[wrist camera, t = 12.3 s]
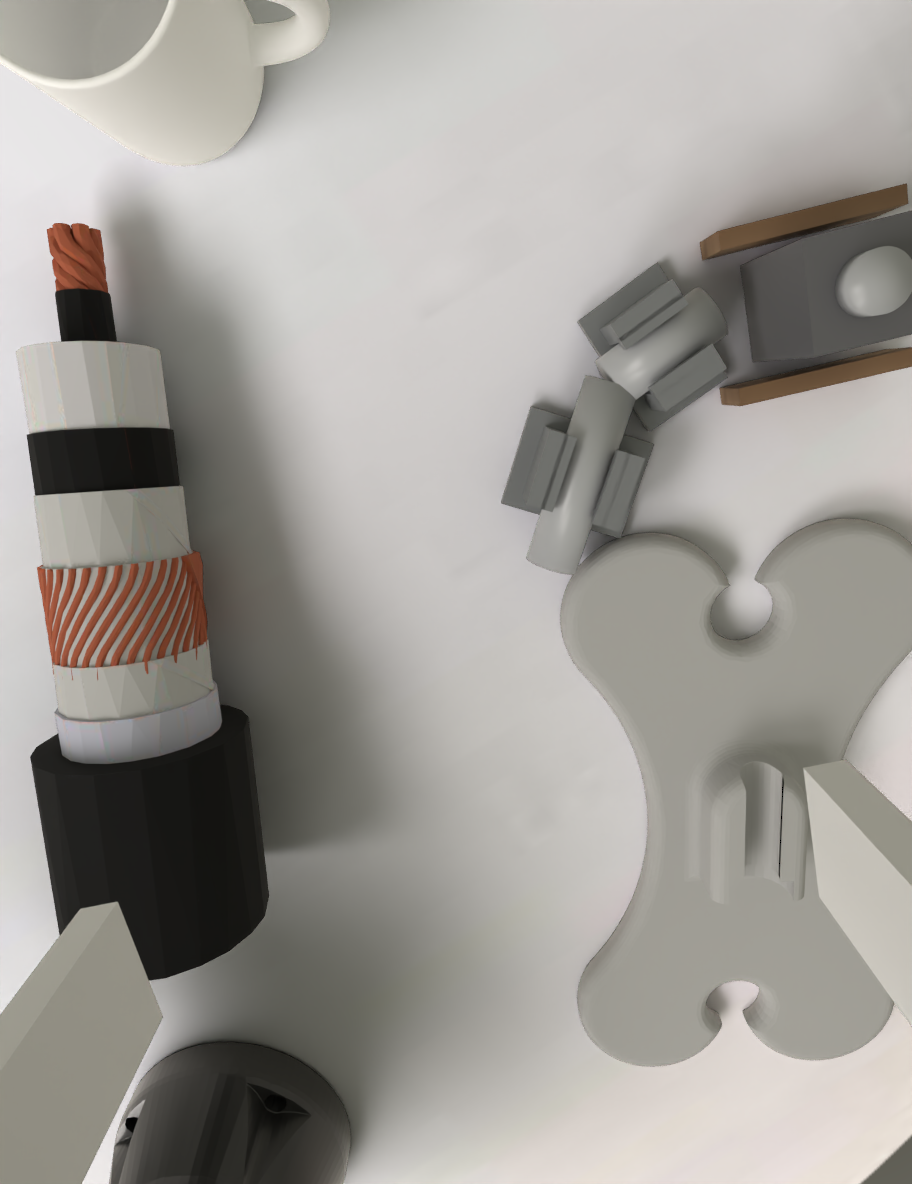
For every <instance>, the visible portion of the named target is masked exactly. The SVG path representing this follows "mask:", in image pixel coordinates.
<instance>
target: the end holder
mask: <svg viewBox="0 0 912 1184" xmlns="http://www.w3.org/2000/svg"><path fill="white" fill-rule="evenodd" d="M906 204H908V195H907V184H903V185H899V186H895V187H891V188H887V189H883V190H879V191H875V192H871V193H867V194H863V195H859V196H855V197H851V198H847V199H843V200H839V201H835V202H831V203H827V204H823V205H819V206H815V207H812V208H808V209H804V210H800V211H796V212H792V213H788V214H784V215H780V216H776V217H772V218H768V219H764V220H760V221H756V222H752V223H748V224H744V225H740V226H736V227H732V228H728V229H724V230H720V231H718V232H716V233H714V234H713V235H711V236H710V237H708V238H706V239H705V240H703V241H702V242H700V247H701V255H702V260H706V259H710V258H714V257H718V256H722V255H726V254H730V253H734V252H738V251H742V250H746V249H750V248H754V247H758V246H762V245H767V244H771V243H775V242H779V241H783V240H787V239H791V238H795V237H799V236H803V235H807V234H811V233H815V232H819V231H823V230H827V229H831V228H835V227H839V226H843V225H847V224H851V223H855V222H859V221H863V220H867V219H871V218H875V217H877V216H880V215H882V214H884V213H887V212H889V211H892V210H894V209H896V208H899V207H901V206H904V205H906ZM908 367H912V347H909V348H897V349H885V350H881V351H876V352H872V353H868V354H863V355H859V356H855V357H851V358H846V359H842V360H838V361H834V362H829V363H825V364H821V365H817V366H812V367H808V368H804V369H799V370H795V371H791V372H787V373H782V374H778V375H774V376H770V377H765V378H761V379H757V380H752V381H748V382H744V383H740V384H735V385H731V386H727V387H723V388H720V395H721V402H722V404H723V405H734V406H743V405H748V404H752V403H756V402H761V401H765V400H769V399H774V398H778V397H782V396H787V395H791V394H795V393H800V392H804V391H808V390H813V389H817V388H821V387H826V386H830V385H834V384H838V383H843V382H847V381H851V380H856V379H860V378H864V377H869V376H873V375H877V374H882V373H886V372H890V371H895V370H899V369H903V368H908Z"/></svg>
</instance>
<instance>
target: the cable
mask: <svg viewBox="0 0 912 1184" xmlns="http://www.w3.org/2000/svg"><path fill="white" fill-rule="evenodd" d="M71 228H72V229H71ZM47 234H48V241H49V248H50V253H51V255H52V256H53V257H54V259H53V260H52V264H53V270H54V275H55V277H56V281H55V283H56V293H55V297H56V304H57V312H58V320H59V327H60V335H61V342H49V343H41V344H34V345H29V346H25V347H21V348H20V349H19V350H17V351H16V355H17V361H18V367H19V373H20V379H21V386H22V392H23V398H24V404H25V410H26V416H27V422H28V428H29V434H28V435H27V440H28V447H29V454H30V461H31V468H32V475H33V482H34V489H35V496H34V503H35V511H36V518H37V525H38V532H39V540H40V547H41V554H42V561H43V565H41V566H40V567H37V570H38V577H39V584H40V589H41V593H42V599H43V607H44V612H45V620H46V626H47V632H48V639H49V645H50V652H51V656H52V666H53V674H54V678H55V686H56V694H57V701H58V708H57V710H56V712H55V718H56V724H57V729H58V734H57V735H55V736H53V737H52V738H50V739H49V740H47V741H45V742H44V743H42V744H41V745H39V746H38V747H36V749H35V750H34V752H33V753H32V755H31V757H30V758H31V764H32V770H33V776H34V782H35V788H36V794H37V800H38V806H39V812H40V818H41V825H42V831H43V837H44V843H45V849H46V855H47V861H48V867H49V873H50V879H51V885H52V891H53V897H54V903H55V910H56V916H57V922H58V928H59V934H60V935H61V934H62V932H63V931H64V930H65V928H66V927H67V926H68V924H69V923H70V922H71V920H72V919H73V918H74V916H75V915H76V914H77V912H78V911H79V910H80V909H82V908H87V907H92V906H97V905H102V904H107V903H113V902H118V904H119V906H120V909H121V911H122V914H123V916H124V919H125V921H126V924H127V926H128V929H129V932H130V934H131V937H132V939H133V942H134V944H135V947H136V949H137V952H138V955H139V957H140V960H141V962H142V965H143V967H144V970H145V972H146V975H147V978H148V980H156V979H163V978H167V977H170V976H173V975H176V974H179V973H182V972H184V971H187V970H190V969H193V968H196V967H199V966H201V965H203V964H205V963H207V962H209V961H211V960H213V959H215V958H217V957H219V956H221V955H223V954H224V953H226V952H228V951H230V950H231V949H232V948H233V947H235V946H236V945H237V944H238V943H240V942H241V941H242V940H243V939H245V938H246V937H247V936H248V935H249V934H251V933H252V932H253V930H254V929H255V928H256V927H257V925H258V924H259V923H260V921H261V920H262V919H263V918H264V916H265V912H266V907H267V902H268V898H269V891H268V882H267V874H266V865H265V857H264V848H263V840H262V831H261V822H260V814H259V805H258V797H257V788H256V780H255V771H254V762H253V754H252V745H251V737H250V728H249V720H248V716H247V715H246V714H245V713H244V712H243V711H242V710H239V709H236V708H233V707H231V706H228V705H220V702H219V695H218V688H217V683H216V682H214V681H213V680H212V670H211V660H210V650H209V640H208V638H207V614H206V609H205V605H204V601H203V564H202V560H201V556H200V553H199V552H196V551H191V548H190V542H189V533H188V524H187V515H186V507H185V498H184V489H183V486H180V485H179V476H178V467H177V458H176V449H175V440H174V432H173V430H172V429H170V425H169V417H168V409H167V401H166V393H165V385H164V377H163V369H162V361H161V353H160V351H159V350H158V349H155V348H152V347H149V346H146V345H139V344H132V343H124V342H117V339H116V332H115V325H114V318H113V311H112V304H111V297H110V294H109V293H108V286H107V282H106V280H105V279H106V268H105V264H104V252H103V246H102V239H101V232H100V230H97V229H93V228H90V229H89V226H87V225H85V224H80V223H77V224H72V225H71V227H70V226H69V225H68V224H63V223H55V224H53V228H50V229H47Z"/></svg>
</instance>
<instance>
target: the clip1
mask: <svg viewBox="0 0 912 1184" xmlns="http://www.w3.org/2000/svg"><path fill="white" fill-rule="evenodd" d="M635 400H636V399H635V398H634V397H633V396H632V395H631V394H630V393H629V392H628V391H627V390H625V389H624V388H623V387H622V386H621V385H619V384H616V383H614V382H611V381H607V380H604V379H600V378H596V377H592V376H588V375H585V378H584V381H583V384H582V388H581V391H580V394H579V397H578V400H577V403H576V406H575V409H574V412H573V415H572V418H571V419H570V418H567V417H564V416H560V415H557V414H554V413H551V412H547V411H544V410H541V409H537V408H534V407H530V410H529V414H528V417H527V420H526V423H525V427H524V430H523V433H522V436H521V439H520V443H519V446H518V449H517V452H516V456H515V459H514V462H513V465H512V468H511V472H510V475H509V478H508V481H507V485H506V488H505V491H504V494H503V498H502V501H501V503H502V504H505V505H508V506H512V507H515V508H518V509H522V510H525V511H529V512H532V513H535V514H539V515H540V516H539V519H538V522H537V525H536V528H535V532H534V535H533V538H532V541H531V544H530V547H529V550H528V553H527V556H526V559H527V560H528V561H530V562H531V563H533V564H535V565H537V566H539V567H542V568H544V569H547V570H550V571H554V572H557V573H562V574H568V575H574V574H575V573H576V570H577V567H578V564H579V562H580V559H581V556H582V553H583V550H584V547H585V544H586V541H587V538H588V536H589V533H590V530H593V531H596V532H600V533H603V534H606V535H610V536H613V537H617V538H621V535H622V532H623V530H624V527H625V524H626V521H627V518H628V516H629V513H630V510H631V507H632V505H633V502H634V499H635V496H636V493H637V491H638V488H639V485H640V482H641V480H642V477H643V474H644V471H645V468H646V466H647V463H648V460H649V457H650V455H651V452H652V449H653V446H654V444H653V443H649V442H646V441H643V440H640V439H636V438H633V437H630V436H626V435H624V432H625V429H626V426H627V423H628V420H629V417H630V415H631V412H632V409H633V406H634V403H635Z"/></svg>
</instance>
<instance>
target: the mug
mask: <svg viewBox="0 0 912 1184" xmlns="http://www.w3.org/2000/svg"><path fill="white" fill-rule="evenodd" d="M268 1H272V2H275V3H278V4H281V5H283V6H285V7H287V8H289V9H290V10H292V11H293V12H294V13H295V15H294V16H293V17H291V18H289V19H286V20H283V21H279V22H273V23H263V24H254V22H253V19H252V17H251V15H250V13H249V10H248V8H247V6H246V4H245V2H244V0H0V63H1V64H2V65H4V66H5V67H6V68H8V69H9V70H11V71H12V72H14V73H15V74H17V75H18V76H20V77H21V78H23V79H24V80H26V81H27V82H29V83H30V84H32V85H33V86H35V87H36V88H38V89H39V90H41V91H42V92H44V93H45V94H47V95H48V96H50V97H51V98H53V99H54V100H56V101H57V102H59V103H60V104H62V105H63V106H65V107H66V108H68V109H69V110H71V111H72V112H74V113H75V114H77V115H78V116H80V117H81V118H82V119H84V120H85V121H87V122H88V123H90V124H91V125H93V126H94V127H96V128H97V129H99V130H100V131H102V132H103V133H105V134H106V135H108V136H109V137H111V138H112V139H114V140H115V141H117V142H118V143H120V144H121V145H123V146H124V147H126V148H127V149H129V150H131V151H132V152H134V153H136V154H138V155H140V156H142V157H144V158H146V159H149V160H152V161H155V162H158V163H162V164H167V165H172V166H193V165H199V164H202V163H206V162H209V161H211V160H214V159H216V158H218V157H219V156H221V155H223V154H224V153H226V152H227V151H229V150H230V149H231V148H232V147H233V146H235V145H236V144H237V142H238V141H239V140H240V139H241V138H242V137H243V136H244V134H245V133H246V131H247V130H248V128H249V127H250V125H251V123H252V121H253V119H254V117H255V115H256V112H257V109H258V106H259V103H260V99H261V95H262V90H263V81H264V66H267V65H275V64H280V63H285V62H289V61H293V60H295V59H298V58H301V57H303V56H305V55H307V54H309V53H310V52H311V51H313V50H314V49H315V48H317V47H318V46H319V45H320V44H321V43H322V41H323V40H324V38H325V36H326V34H327V31H328V29H329V23H330V8H329V4H328V0H268Z"/></svg>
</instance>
